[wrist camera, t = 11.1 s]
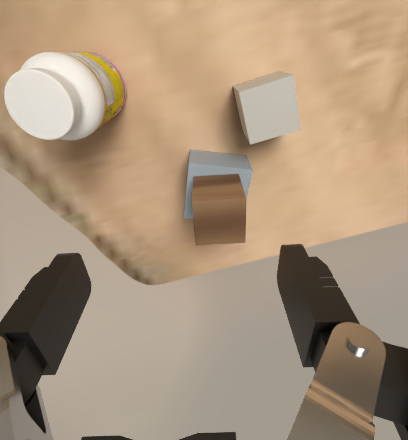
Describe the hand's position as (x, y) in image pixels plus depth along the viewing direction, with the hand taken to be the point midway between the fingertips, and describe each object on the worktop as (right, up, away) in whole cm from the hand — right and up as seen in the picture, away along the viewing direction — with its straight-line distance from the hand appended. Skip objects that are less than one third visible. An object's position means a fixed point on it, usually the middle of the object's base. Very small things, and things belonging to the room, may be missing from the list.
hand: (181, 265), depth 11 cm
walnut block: (+2, +5, +21) cm, 21 cm away
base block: (+2, +7, +25) cm, 26 cm away
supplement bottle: (-11, +16, +19) cm, 27 cm away
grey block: (+7, +15, +20) cm, 26 cm away
